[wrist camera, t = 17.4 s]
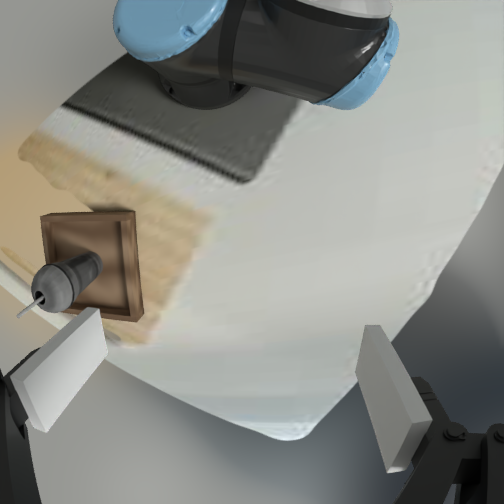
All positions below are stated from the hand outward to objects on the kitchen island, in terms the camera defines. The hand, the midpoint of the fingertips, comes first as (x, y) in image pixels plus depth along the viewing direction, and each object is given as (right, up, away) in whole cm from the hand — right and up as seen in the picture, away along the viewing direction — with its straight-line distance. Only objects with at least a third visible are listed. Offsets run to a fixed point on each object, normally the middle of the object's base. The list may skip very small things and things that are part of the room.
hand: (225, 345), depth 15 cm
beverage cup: (-26, +2, +36) cm, 45 cm away
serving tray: (-27, +3, +37) cm, 46 cm away
